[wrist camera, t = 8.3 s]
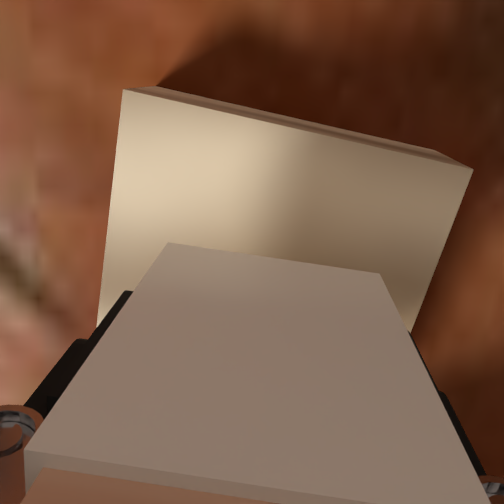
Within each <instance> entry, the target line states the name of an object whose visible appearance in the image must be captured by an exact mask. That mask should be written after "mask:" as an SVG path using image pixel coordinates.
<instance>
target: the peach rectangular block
mask: <svg viewBox="0 0 504 504" xmlns="http://www.w3.org/2000/svg"><path fill="white" fill-rule="evenodd" d="M24 468H25V490H26V495H25V497H24V499H23V500H22V502H21V503H20V504H491V503H490V501H489V498H488V496H487V494H486V492H485V490H484V488H483V486H482V484H481V482H480V480H479V478H478V476H477V474H476V472H475V470H474V467H473V465H472V463H471V461H470V459H469V457H468V455H467V453H466V451H465V449H464V447H463V445H462V443H461V441H460V439H459V436H458V434H457V432H456V430H455V428H454V426H453V424H452V422H451V420H450V418H449V416H448V414H447V412H446V410H445V408H444V406H443V403H442V401H441V399H440V397H439V395H438V393H437V391H436V389H435V387H434V385H433V383H432V381H431V379H430V377H429V375H428V372H427V370H426V368H425V366H424V364H423V362H422V360H421V358H420V356H419V354H418V352H417V350H416V348H415V346H414V344H413V341H412V339H411V337H410V335H409V333H408V331H407V329H406V327H405V325H404V323H403V321H402V319H401V317H400V315H399V313H398V311H397V308H396V306H395V304H394V302H393V300H392V298H391V296H390V294H389V292H388V290H387V288H386V286H385V284H384V282H383V280H382V277H381V275H380V274H379V273H372V272H365V271H359V270H352V269H345V268H338V267H332V266H325V265H318V264H311V263H305V262H298V261H291V260H284V259H277V258H271V257H264V256H257V255H250V254H244V253H237V252H230V251H223V250H217V249H210V248H203V247H196V246H189V245H183V244H176V243H169V242H168V243H167V244H166V246H165V247H164V249H163V250H162V251H161V253H160V254H159V256H158V257H157V259H156V260H155V261H154V263H153V264H152V266H151V267H150V269H149V270H148V271H147V273H146V274H145V276H144V277H143V279H142V280H141V282H140V283H139V284H138V286H137V287H136V289H135V290H134V292H133V293H132V294H131V296H130V297H129V299H128V300H127V302H126V303H125V305H124V306H123V307H122V309H121V310H120V312H119V313H118V315H117V316H116V317H115V319H114V320H113V322H112V323H111V325H110V326H109V328H108V329H107V330H106V332H105V333H104V335H103V336H102V338H101V339H100V340H99V342H98V343H97V345H96V346H95V348H94V349H93V351H92V352H91V353H90V355H89V356H88V358H87V359H86V361H85V362H84V363H83V365H82V366H81V368H80V369H79V371H78V372H77V374H76V375H75V376H74V378H73V379H72V381H71V382H70V384H69V385H68V386H67V388H66V389H65V391H64V392H63V394H62V395H61V397H60V398H59V399H58V401H57V402H56V404H55V405H54V407H53V408H52V409H51V411H50V412H49V414H48V415H47V417H46V418H45V420H44V421H43V422H42V424H41V425H40V427H39V428H38V430H37V431H36V432H35V434H34V435H33V437H32V438H31V440H30V441H29V443H28V444H27V445H26V447H25V448H24Z"/></svg>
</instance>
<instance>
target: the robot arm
mask: <svg viewBox="0 0 504 504" xmlns="http://www.w3.org/2000/svg"><path fill="white" fill-rule="evenodd" d="M133 292H134V291H129V290H125V291H124V292H123V293H122V294H121V296H120V297H119V298H118V300H117V301H116V302H115V304H114V305H113V307H112V308H111V309H110V311H109V312H108V313H107V315H106V316H105V317H104V319H103V320H102V321H101V323H100V324H99V325H98V327H97V328H96V329H95V331H94V332H93V333H92V335H91V336H90V338H89V339H88V340H87V339H76V340H75V341H74V342H73V343H72V345H71V346H70V347H69V348H68V350H67V351H66V352H65V354H64V355H63V356H62V357H61V359H60V360H59V361H58V362H57V364H56V365H55V366H54V367H53V369H52V370H51V371H50V373H49V374H48V375H47V376H46V378H45V379H44V380H43V381H42V383H41V384H40V385H39V386H38V388H37V389H36V390H35V392H34V393H33V394H32V395H31V397H30V398H29V399H28V400H27V402H26V403H25V404H24V405H23V406H22V405H2V406H0V504H20V503H21V502H22V500H23V499H24V497H25V495H26V490H25V468H24V448H25V447H26V445H27V444H28V443H29V441H30V440H31V438H32V437H33V435H34V434H35V432H36V431H37V430H38V428H39V427H40V425H41V424H42V422H43V421H44V420H45V418H46V417H47V415H48V414H49V412H50V411H51V409H52V408H53V407H54V405H55V404H56V402H57V401H58V399H59V398H60V397H61V395H62V394H63V392H64V391H65V389H66V388H67V386H68V385H69V384H70V382H71V381H72V379H73V378H74V376H75V375H76V374H77V372H78V371H79V369H80V368H81V366H82V365H83V363H84V362H85V361H86V359H87V358H88V356H89V355H90V353H91V352H92V351H93V349H94V348H95V346H96V345H97V343H98V342H99V340H100V339H101V338H102V336H103V335H104V333H105V332H106V330H107V329H108V328H109V326H110V325H111V323H112V322H113V320H114V319H115V317H116V316H117V315H118V313H119V312H120V310H121V309H122V307H123V306H124V305H125V303H126V302H127V300H128V299H129V297H130V296H131V294H132V293H133ZM408 333H409V335H410V337H411V339H412V341H413V344H414V346H415V348H416V350H417V352H418V354H419V356H420V358H421V360H422V362H423V364H424V366H425V368H426V370H427V372H428V375H429V377H430V379H431V381H432V383H433V385H434V387H435V389H436V391H437V393H438V395H439V397H440V399H441V401H442V403H443V406H444V408H445V410H446V412H447V414H448V416H449V418H450V420H451V422H452V424H453V426H454V428H455V430H456V432H457V434H458V436H459V439H460V441H461V443H462V445H463V447H464V449H465V451H466V453H467V455H468V457H469V459H470V461H471V463H472V465H473V467H474V470H475V472H476V474H477V476H478V478H479V480H480V482H481V484H482V486H483V488H484V490H485V492H486V494H487V496H488V498H489V501H490V503H491V504H504V478H501V477H496V476H487V475H486V473H485V471H484V469H483V467H482V465H481V463H480V461H479V459H478V457H477V455H476V453H475V451H474V449H473V447H472V445H471V443H470V441H469V440H468V438H467V436H466V434H465V432H464V430H463V428H462V426H461V424H460V422H459V420H458V418H457V416H456V414H455V412H454V410H453V408H452V406H451V404H450V402H449V400H448V398H447V396H446V395H445V394H444V393H443V392H441V391H438V389H437V387H436V385H435V383H434V381H433V379H432V377H431V374H430V372H429V370H428V368H427V366H426V364H425V362H424V360H423V358H422V356H421V354H420V352H419V350H418V348H417V346H416V344H415V342H414V340H413V338H412V336H411V334H410V332H409V331H408Z"/></svg>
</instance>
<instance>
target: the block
mask: <svg viewBox="0 0 504 504" xmlns="http://www.w3.org/2000/svg"><path fill="white" fill-rule="evenodd" d="M473 170H474V169H472V168H470V167H468V166H466V165H464V164H462V163H460V162H458V161H456V160H454V159H452V158H450V157H448V156H446V155H444V154H442V153H440V152H438V151H436V150H432V149H428V148H424V147H419V146H415V145H410V144H406V143H402V142H397V141H393V140H389V139H384V138H380V137H376V136H371V135H367V134H363V133H358V132H354V131H349V130H345V129H341V128H336V127H332V126H328V125H323V124H319V123H315V122H310V121H306V120H302V119H297V118H293V117H288V116H284V115H280V114H275V113H271V112H267V111H262V110H258V109H254V108H249V107H245V106H241V105H236V104H232V103H227V102H223V101H219V100H214V99H210V98H206V97H201V96H197V95H193V94H188V93H184V92H180V91H175V90H171V89H167V88H162V87H158V86H151V87H140V88H130V89H123V94H122V103H121V112H120V121H119V130H118V139H117V148H116V157H115V166H114V175H113V184H112V193H111V202H110V211H109V220H108V229H107V238H106V247H105V256H104V265H103V274H102V283H101V292H100V301H99V310H98V319H97V327H98V325H99V324H100V323H101V321H102V320H103V319H104V317H105V316H106V315H107V313H108V312H109V311H110V309H111V308H112V307H113V305H114V304H115V302H116V301H117V300H118V298H119V297H120V296H121V294H122V293H123V292H124V291H125V290H129V291H134V290H135V289H136V287H137V286H138V284H139V283H140V282H141V280H142V279H143V277H144V276H145V274H146V273H147V271H148V270H149V269H150V267H151V266H152V264H153V263H154V261H155V260H156V259H157V257H158V256H159V254H160V253H161V251H162V250H163V249H164V247H165V246H166V244H167V243H168V242H169V243H176V244H183V245H189V246H196V247H203V248H210V249H217V250H223V251H230V252H237V253H244V254H250V255H257V256H264V257H271V258H277V259H284V260H291V261H298V262H305V263H311V264H318V265H325V266H332V267H338V268H345V269H352V270H359V271H365V272H372V273H379V274H380V275H381V277H382V280H383V282H384V284H385V286H386V288H387V290H388V292H389V294H390V296H391V298H392V300H393V302H394V304H395V306H396V308H397V311H398V313H399V315H400V317H401V319H402V321H403V323H404V325H405V327H406V329H407V331H409V332H410V333H411V330H412V328H413V325H414V323H415V320H416V318H417V315H418V312H419V310H420V307H421V305H422V302H423V299H424V297H425V294H426V292H427V289H428V286H429V284H430V281H431V279H432V276H433V274H434V271H435V268H436V266H437V263H438V261H439V258H440V255H441V253H442V250H443V248H444V245H445V242H446V240H447V237H448V235H449V232H450V230H451V227H452V224H453V222H454V219H455V217H456V214H457V211H458V209H459V206H460V204H461V201H462V199H463V196H464V193H465V191H466V188H467V186H468V183H469V180H470V178H471V175H472V173H473Z"/></svg>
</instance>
